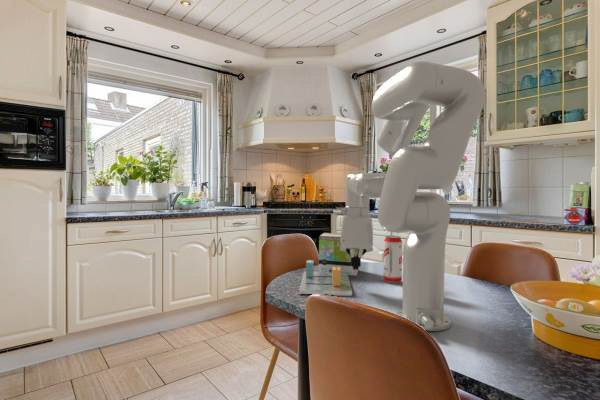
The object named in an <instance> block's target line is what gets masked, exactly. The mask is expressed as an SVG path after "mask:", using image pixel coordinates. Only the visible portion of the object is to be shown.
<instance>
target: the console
mask: <svg viewBox="0 0 600 400" xmlns="http://www.w3.org/2000/svg"><path fill="white" fill-rule="evenodd" d="M352 289H353V288H352V284H351V282H350V278H349V275H348V274H347V272H341V286H333V283H332V272H319V271H314V275H313V277H306V270H304V271H303V274H302V278H301V283H300V286H299V290H298V293H299V294H313V293H322V294H328V295H327V296H330V295H334V297H338V296H339V297H353V290H352Z"/></svg>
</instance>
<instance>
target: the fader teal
mask: <svg viewBox="0 0 600 400" xmlns="http://www.w3.org/2000/svg"><path fill="white" fill-rule="evenodd" d="M314 262H315V260H313V259H311V260H310V259H307V260H306V263H305V271H306V277H313V275H314V272H315V271H314V270H315V269H314V266H315V263H314Z"/></svg>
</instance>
